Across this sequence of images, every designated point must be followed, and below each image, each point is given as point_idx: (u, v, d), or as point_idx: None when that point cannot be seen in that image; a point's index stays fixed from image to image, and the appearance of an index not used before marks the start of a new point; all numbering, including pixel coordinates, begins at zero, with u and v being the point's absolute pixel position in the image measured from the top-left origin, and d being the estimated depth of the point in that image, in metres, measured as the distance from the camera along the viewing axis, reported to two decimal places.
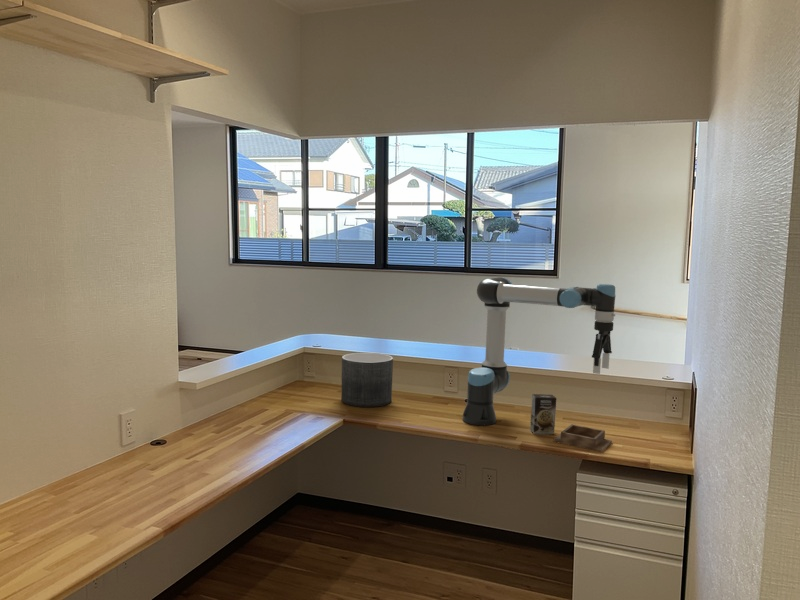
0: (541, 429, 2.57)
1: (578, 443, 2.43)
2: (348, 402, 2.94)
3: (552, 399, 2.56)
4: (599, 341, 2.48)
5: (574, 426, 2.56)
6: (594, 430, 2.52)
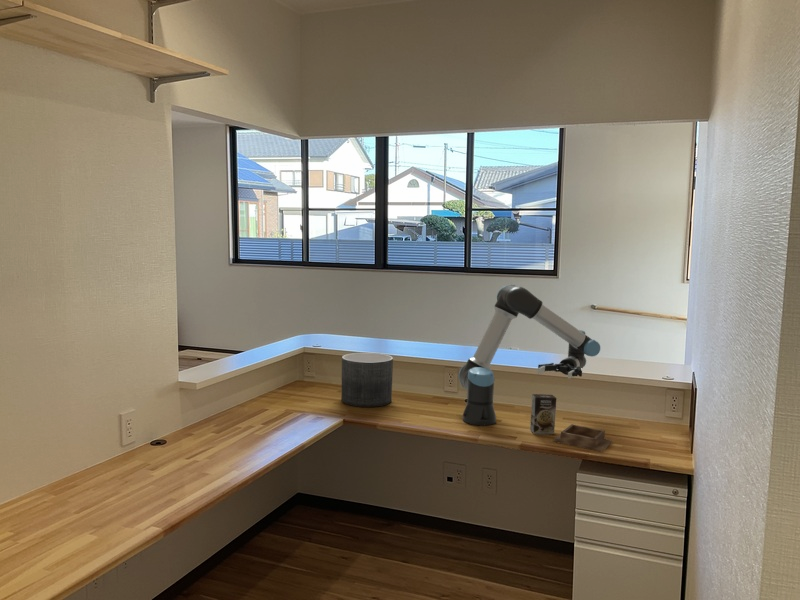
0: (541, 429, 2.57)
1: (578, 443, 2.43)
2: (348, 402, 2.94)
3: (552, 399, 2.56)
4: None
5: (574, 426, 2.56)
6: (594, 430, 2.52)
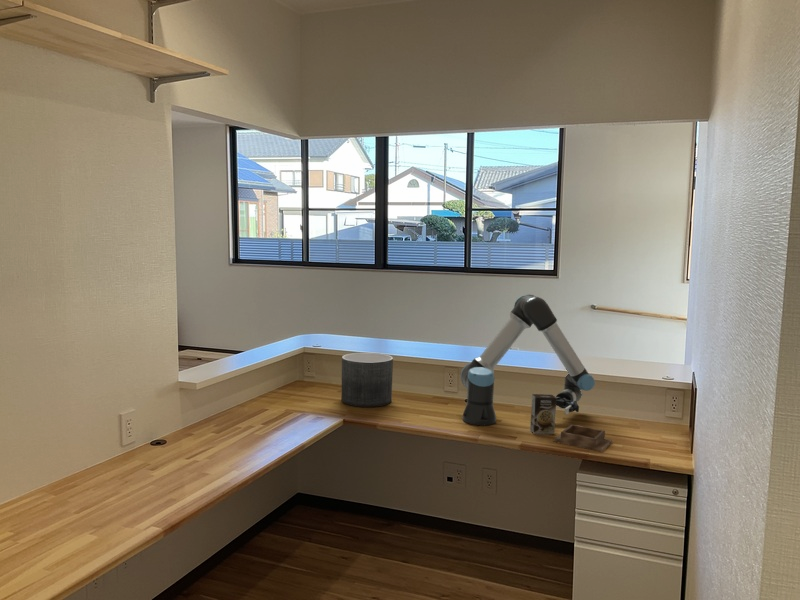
0: (541, 429, 2.57)
1: (578, 443, 2.43)
2: (348, 402, 2.94)
3: (552, 399, 2.56)
4: None
5: (574, 426, 2.56)
6: (594, 430, 2.52)
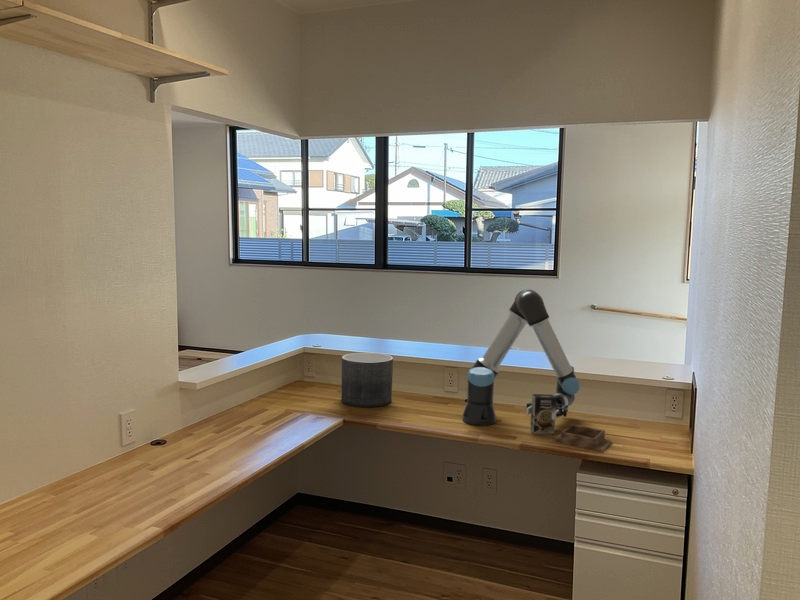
0: (541, 429, 2.57)
1: (578, 443, 2.43)
2: (348, 402, 2.94)
3: (552, 399, 2.56)
4: None
5: (574, 426, 2.56)
6: (594, 430, 2.52)
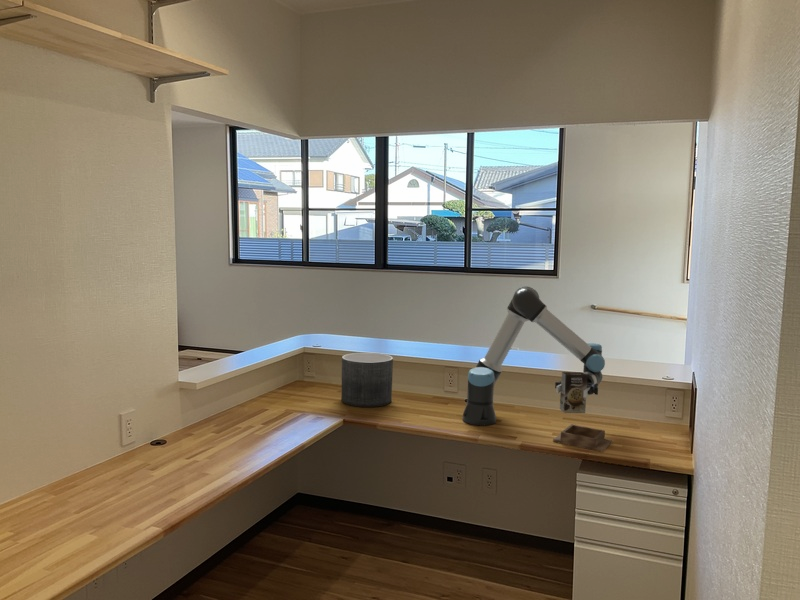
0: (572, 407, 2.49)
1: (578, 443, 2.43)
2: (348, 402, 2.94)
3: (583, 376, 2.48)
4: None
5: (574, 426, 2.56)
6: (594, 430, 2.52)
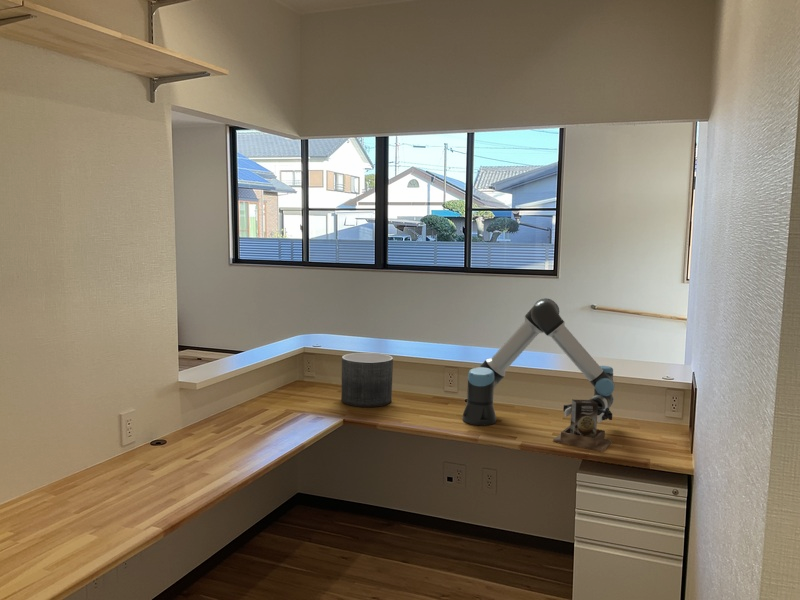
0: None
1: (578, 443, 2.43)
2: (348, 402, 2.94)
3: (594, 405, 2.45)
4: None
5: None
6: None
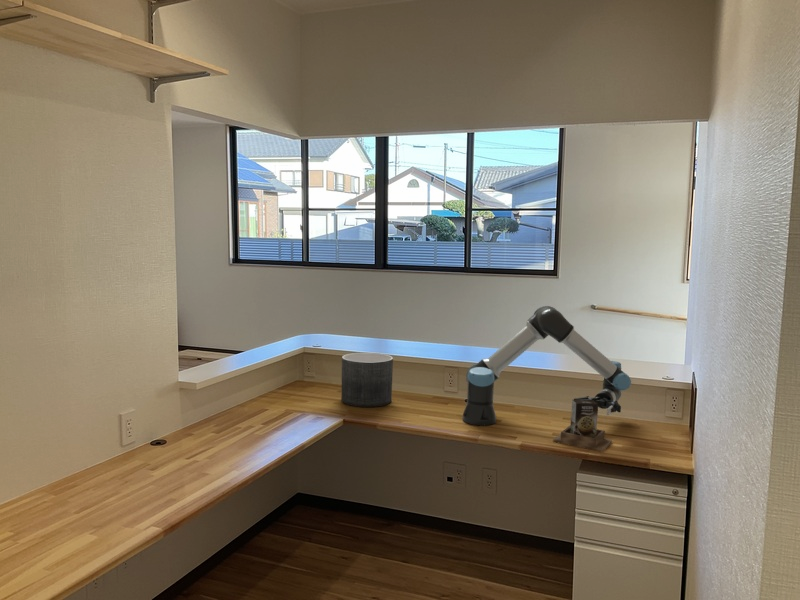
0: None
1: (578, 443, 2.43)
2: (348, 402, 2.94)
3: (594, 405, 2.44)
4: None
5: None
6: None
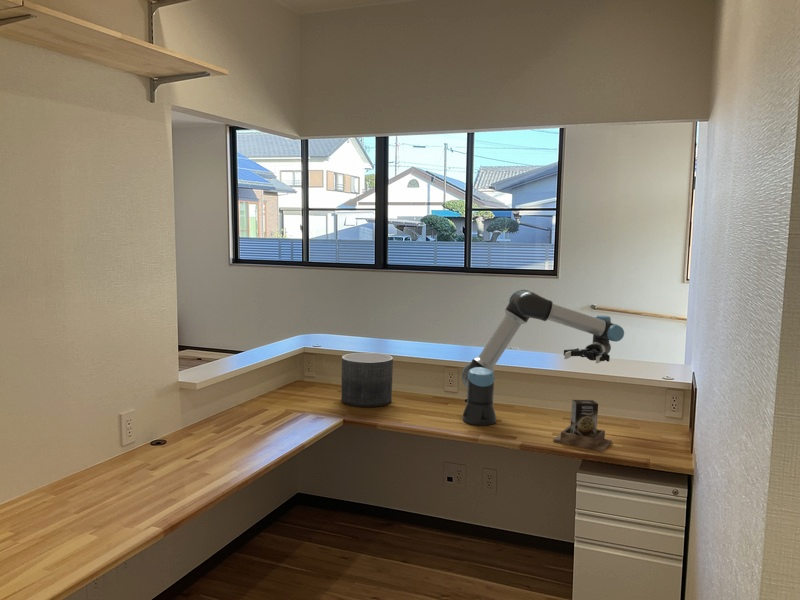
0: None
1: (578, 443, 2.43)
2: (348, 402, 2.94)
3: (594, 405, 2.44)
4: None
5: None
6: None
